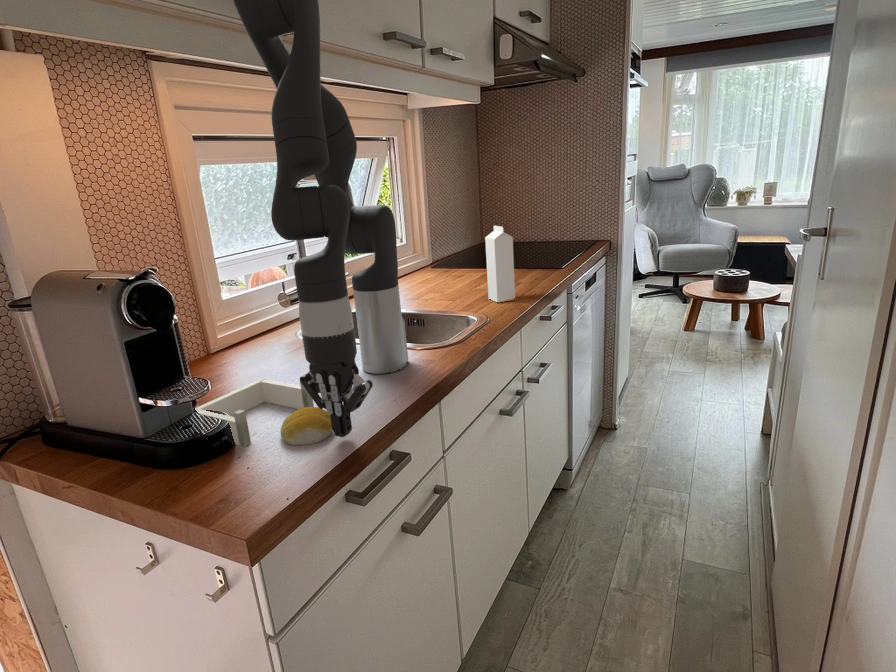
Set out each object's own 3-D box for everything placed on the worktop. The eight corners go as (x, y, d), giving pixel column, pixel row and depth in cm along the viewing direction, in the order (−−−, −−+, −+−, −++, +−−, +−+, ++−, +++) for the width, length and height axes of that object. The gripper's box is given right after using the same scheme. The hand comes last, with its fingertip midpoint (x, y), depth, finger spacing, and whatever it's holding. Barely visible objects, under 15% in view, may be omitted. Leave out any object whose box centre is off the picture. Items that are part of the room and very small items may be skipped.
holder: (264, 398, 107) (259, 370, 105) (314, 408, 100) (309, 379, 99) (193, 432, 94) (186, 401, 93) (245, 446, 88) (238, 413, 86)
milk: (505, 297, 172) (503, 224, 166) (515, 301, 167) (512, 225, 161) (488, 300, 170) (484, 226, 164) (497, 304, 165) (493, 227, 158)
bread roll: (332, 418, 96) (329, 397, 95) (334, 441, 88) (331, 418, 87) (282, 426, 95) (279, 404, 93) (279, 450, 86) (275, 427, 85)
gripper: (379, 323, 82) (391, 431, 87) (311, 317, 89) (326, 418, 94) (346, 338, 76) (361, 453, 81) (276, 330, 82) (294, 437, 87)
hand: (342, 434), depth 87 cm, fingers closed
